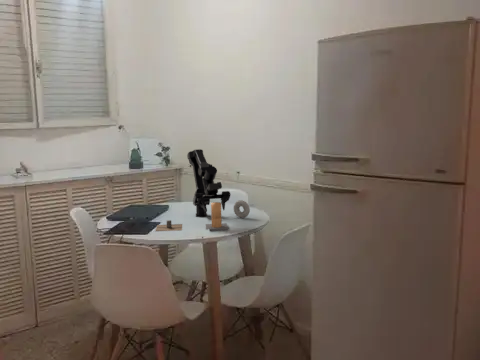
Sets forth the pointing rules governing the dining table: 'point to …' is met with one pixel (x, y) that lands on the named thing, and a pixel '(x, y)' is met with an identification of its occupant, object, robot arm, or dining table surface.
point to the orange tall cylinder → (216, 214)
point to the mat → (223, 228)
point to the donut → (245, 207)
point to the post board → (164, 227)
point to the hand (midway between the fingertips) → (215, 210)
